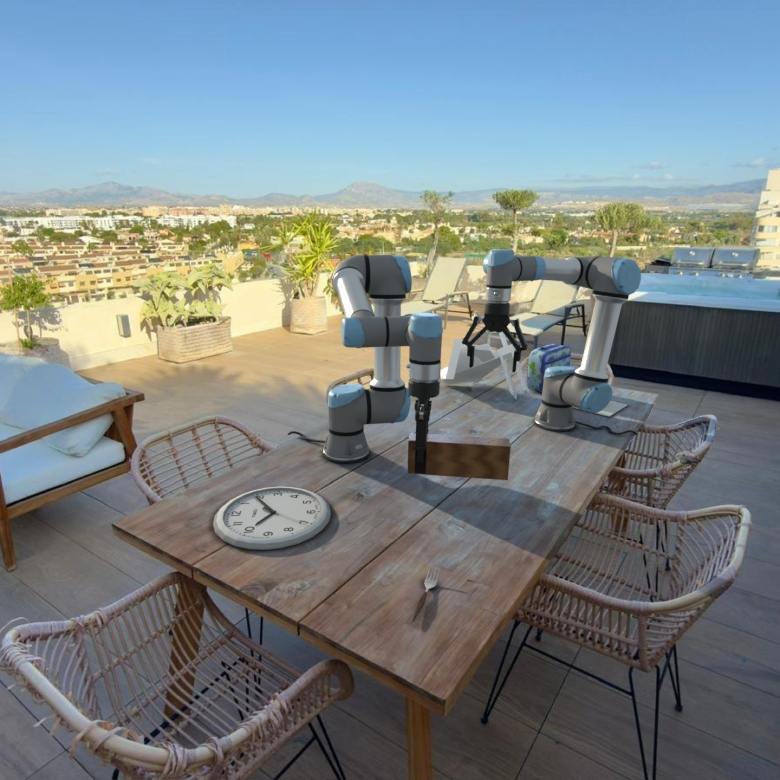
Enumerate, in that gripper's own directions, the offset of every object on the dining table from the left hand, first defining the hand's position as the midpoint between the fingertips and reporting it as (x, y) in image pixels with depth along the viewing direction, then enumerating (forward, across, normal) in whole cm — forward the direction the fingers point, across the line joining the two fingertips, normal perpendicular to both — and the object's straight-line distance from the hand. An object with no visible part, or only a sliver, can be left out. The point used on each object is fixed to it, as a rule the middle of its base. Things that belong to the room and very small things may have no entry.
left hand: (420, 467), depth 132 cm
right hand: (-15, -43, +19) cm, 50 cm away
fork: (+15, +30, +3) cm, 34 cm away
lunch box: (+15, -128, +52) cm, 139 cm away
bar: (+1, 0, +9) cm, 9 cm away
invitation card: (+15, -104, +71) cm, 127 cm away
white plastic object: (+15, -115, +20) cm, 118 cm away
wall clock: (+15, +4, -38) cm, 41 cm away
